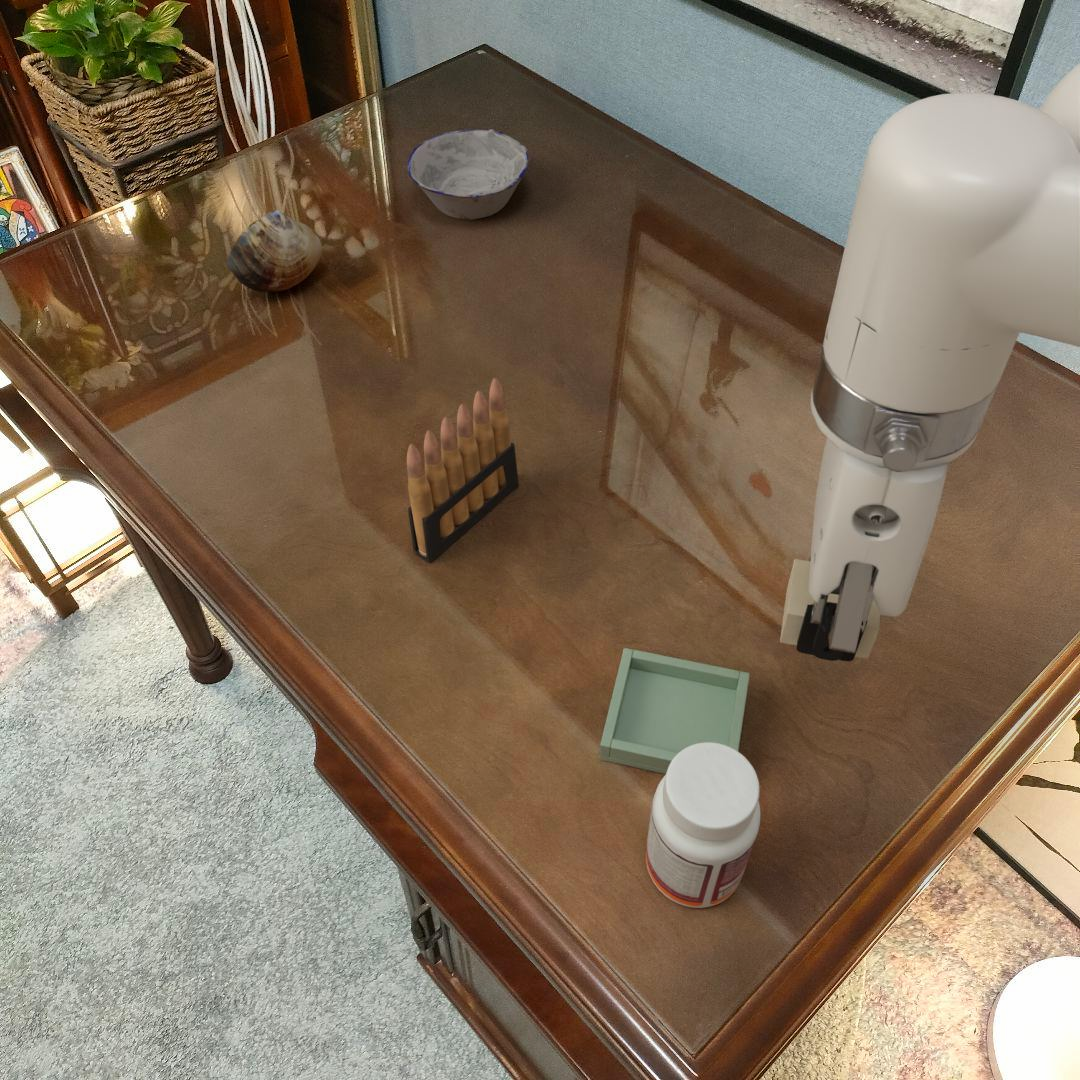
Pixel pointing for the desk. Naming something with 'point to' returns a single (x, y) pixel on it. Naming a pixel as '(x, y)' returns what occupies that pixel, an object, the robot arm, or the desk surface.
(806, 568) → the beige block
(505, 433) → the ammunition clip
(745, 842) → the pill bottle
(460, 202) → the bowl
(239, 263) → the seashell
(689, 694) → the shallow square green tray
